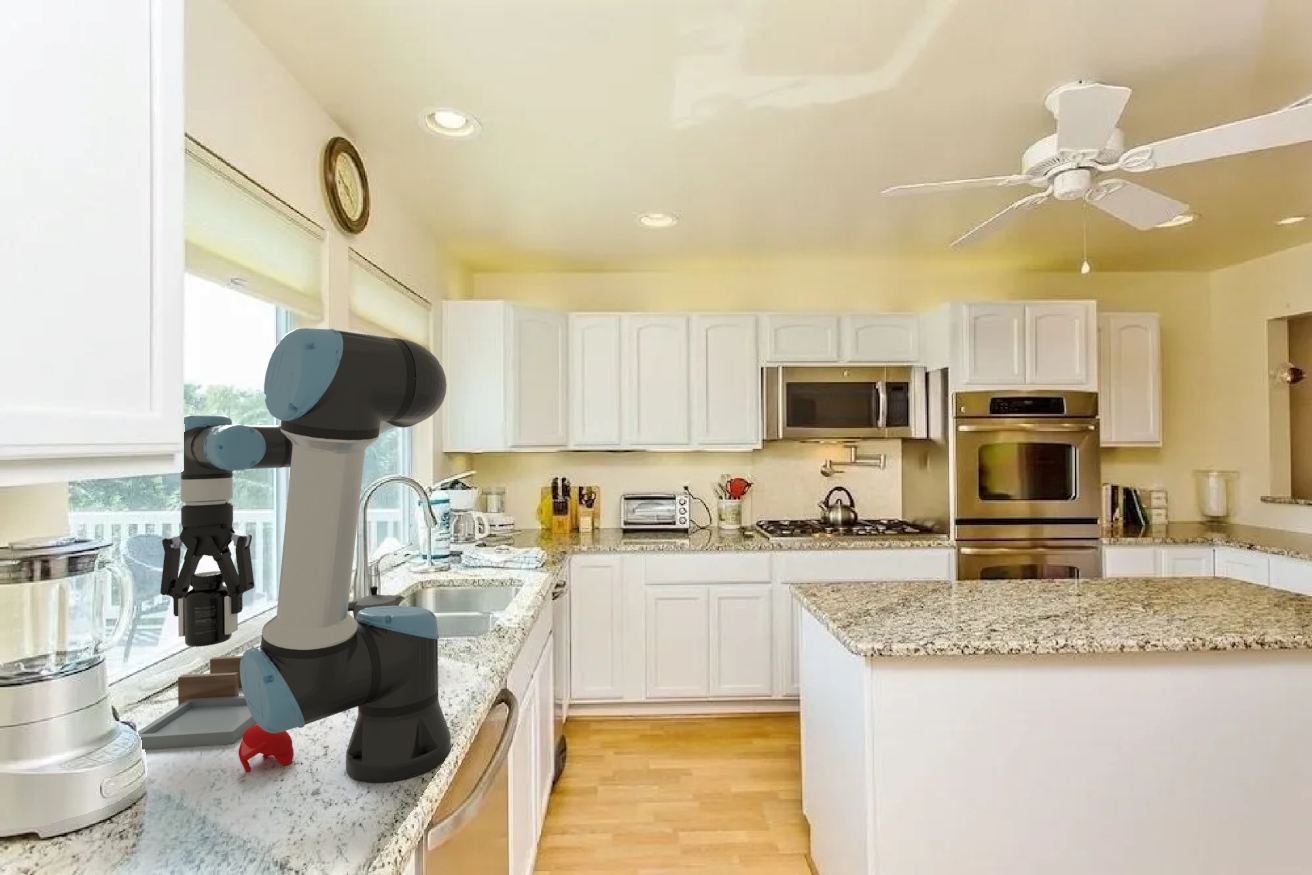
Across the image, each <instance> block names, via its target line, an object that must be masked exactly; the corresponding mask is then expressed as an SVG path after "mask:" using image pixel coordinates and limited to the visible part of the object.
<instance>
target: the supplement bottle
mask: <svg viewBox="0 0 1312 875" xmlns="http://www.w3.org/2000/svg"><path fill="white" fill-rule="evenodd" d="M224 584H225V582H224V579H223V577H222V574H221V572H220V570H219V571H218V570H217V571H216V570H214V571H206V572H198V573H195V574H194V575H192V576H191V585H190V587H191V588H192V589H189V590H188V593H187V594H186V595H185V597H184V617H185V636H184V644H185V645H186V646H187V647H192V648H199V647H208V646H214V645H219V644H221V643H224V642H227V641H229V640H230V639H231V638H232V634H233V633H231V634H225V603H224V597H226V596H227V595H229V592H228V589H227V587H226V585H224Z"/></svg>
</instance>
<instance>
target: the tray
mask: <svg viewBox="0 0 1312 875" xmlns="http://www.w3.org/2000/svg"><path fill="white" fill-rule="evenodd" d="M254 725H257V723H256V722H255V720H254V718H253V716H252V715H251V713H250V711H249V708H248V706H247V703H246V700H245V697H244V695H239V696H232V697H215V698H197V699H188V700H186V701H185V702H183V703H182V704H180V705H179V706H178V705H177V706H175V707H174V708H172V709H171V710H169V711H168V712H165V714H163V715H161V716H160V717H159V718H156V719H155V720H154V721H152V722H150V723H149V724H147V725H146V726H144V727H143V728H141V729H140V730H138V731H137V732H138V734H139V736H140V737H141V740H142V750H155V749H156V750H157V749H169V748H170V749H171V748H185V747H186V748H187V747H189V748H190V747H200V746H203V747H204V746H217V745H220V746H221V745H233V744H235V743H236V742H237V741H238V740H239V739H240V738H242V737H243V734H244V732H245V731H246V730H247V729H248V728H250V727H252V726H254Z"/></svg>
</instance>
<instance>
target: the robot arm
mask: <svg viewBox="0 0 1312 875" xmlns="http://www.w3.org/2000/svg"><path fill="white" fill-rule="evenodd" d="M263 393H264V395H266V396H265V398H264V402H265V406H266V409H267V411H268V412H269V414H270V415H271V416H272V417H273V418H274V419H275V418H276V419H278V420H279V421H280V425H270V424H269V425H267V424H265V425H263V424H262V425H260V424H257V425H256V424H252V425H251V424H244V423H243V424H242V423H233V422H232V421H233V420H232V419H231V418H230V417H229V416H227V415H219V414H218V415H217V414H214V415H213V414H195V415H194V414H193V415H192V414H190V415H185V416H183V417H184V424H185V432H184V471H183V472H181V471H180V501H181V502H182V503H184V504H183V505H182V506H181V507H180V524H181V527H182V530H181V531H180V534H179V535H177V536H176V535H175V536H170V537H165V538H163V539H162V541H161V544H162V546H163V551H164V554H163V564H162V574H161V582H160V583H161V584H160V594H161V595H162V596H169V597H171V598H172V599H173V600H172V601H173V615H174V617H178V620H177V621H178V637H185V617H184V597H185V595H186V594H187V593H188V592H189V591H190V587H191V576H192V575H194V574H196V571H197V568H198V566H199V563H200V561H201V560H202V558H203V556H209V557H212V559H213V561H214V562H216V565H217V566H218V569H219V571H220V572H221V574H222V577H223V579H224V584H225V586H226V587H227V589H228V592H229V595H227V596H226V597H224V603H225V634H231V633H232V634H233V633H235V632H236V631H238V630H239V629H238V628H239V626H238V625H239V624H238V623H239V622H238V620H239V619H238V614H239V613H242V611H243V607H244V606H243V595H244V593H245V592H248V591H250V590H253V589H254V588H255V580H254V571H253V564H252V554H251V543H252V539H253V536H252V535H251V534H250V533H248V534H247V533H246V534H241V533H236V532H235V530H234V527H233V521H234V504H232V502H230V500H232V499H234V498H233V497H234V496H233V495H234V492H233V485H234V482H233V480H234V479H233V478H234V477H233V475H234V474H233V471H245V470H254V469H255V470H258V469H278V468H279V469H281V468H290V469H289V480H288V492H287V503H286V511H285V523H284V525H285V526H284V532H283V533H284V534H283V542H282V543H283V545H282V554H281V555H282V556H281V564H280V565H281V566H280V577H279V586H278V598H277V599H278V601H277V609H276V615H275V616H274V617H272V618H271V619H269V620H268V621H267V622H266V623H265V624H264V625H263V627H262V631H261V640H260V645H259V646H251V648H248V649H247V650H245V651H243V653H242V655H241V656H242V658H241V661H240V678H241V685H242V687H241V690H242V693H243V696H244V697H245V700H246V703H247V706H248V708H249V711H250V713H251V715H252V716H253V718H254V720H255V722H256V723H257V724H258V725H259V727H261V728H262V729H263V730H264V731H266V732H269V733H280V732H283V731H286V732H287V731H290V730H292V729H297V728H298V729H301V728H304V727H305V726H306V725H308V724H312V723H314V722H318V721H320V720H324V719H326V718H328V717H331V716H334V715H337V714H340V713H344V712H345V711H349V710H352V709H354V708H358V709H357V718H356V720H355V724H354V727H353V728H352V733H351V736H350V738H349V743H348V746H347V749H346V752H345V771H346V773H347V774H348V776H349V777H351V778H353V779H355V780H358V781H362V782H369V783H370V782H371V783H386V782H387V783H388V782H394V781H400V780H406V779H409V778H413V777H415V776H418V775H422V774H424V773H427V772H428V771H430V770H432V769H434V768H436V767H437V766H439V765H440V764H441V763H443V762H444V761H445V760H446V759H447V758H448V757H449V755H450V753H451V750H452V748H451V745H452V744H451V733H450V732H451V731H450V729H449V727H448V724H447V722H446V721H447V720H446V717H445V716H444V713H443V710H442V707H441V704H440V702H439V642H438V641H439V639H440V635H439V631H438V630H439V629H438V622H437V621H438V620H437V617H436V615H435V614H434V612H432V611H431V610H429V609H427V608H424V607H418V606H411V605H410V606H409V605H408V606H407V605H399V606H378V607H370V608H365V609H363V610H360V611H359V612H358V613H357V617H356V620H355V619H354V616H353V615H351V614H350V613H349V611H348V603H349V602H350V593H351V592H350V591H351V584H352V574H353V567H354V566H353V563H354V558H355V557H354V554H355V546H356V539H357V536H356V535H357V528H358V519H359V509H360V501H361V491H362V482H363V481H362V480H363V474H364V473H363V472H364V465H365V464H364V463H365V455H366V449H367V448H368V447H369V446H371V445H372V444H373V443H374V442H376V441H377V440H379V438H380V435H381V434H382V433H385V432H387V431H389V430H391V429H393V428H401V429H403V428H410V427H412V426H415V425H417V424H419V423H422V422H423V421H425V420H427V419H429V418H430V417H432V416H433V415H434V414H435V413H436V412H437V411H439V409H440V407H441V406H442V404H443V403H444V401H445V397H446V393H447V377H446V375H445V371H444V368H443V366H442V365H441V363H440V361H439V360H438V359H437V357H436V356H435V354H433V353H432V352H431V351H430V350H428V349H427V348H426V347H425V346H423V345H421V344H419V343H417V342H414V341H412V340H409V339H404V338H399V337H398V338H397V337H387V336H380V335H372V334H366V333H364V334H363V333H359V332H358V333H357V332H351V331H346V330H345V331H343V330H339V329H338V330H336V329H334V328H317V327H315V328H314V327H299V328H295V329H293V330H291V331H288V332H287V333H286V334H285V335H284V336H283V337H281V339H280V341H279V342H278V343H277V344H276V345H275V347H274V349H273V351H272V352H271V356H270V358H269V360H268V364H267V366H266V370H265V376H264V383H263ZM231 542H233V546H234V547H235V550H234V551H235V560H236V566H235V563H234V562H233V559H232V552H231V549H230V547H229V545H230V544H231ZM183 545H184V546H185V548H186V551H185V554H184V557H183V563H182V566H181V568H180V560H181V552H182V551H181V548H182V546H183ZM179 568H180V569H179ZM179 570H180V572H179ZM257 724H256V725H257Z"/></svg>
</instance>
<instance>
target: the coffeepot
mask: <svg viewBox="0 0 1312 875" xmlns="http://www.w3.org/2000/svg"><path fill="white" fill-rule="evenodd" d="M369 589H370V595H367V596H364V597H360V598H356V599H353V600H352V601H351V600H349V603H348V612H352V613H353V614H352V615H353V618H354V619H355V620H356V617H357V613H358V612H359V611H360V610H363V609H365V608H370V607H378V606H400V604H401V602H402V601H403V600H404V599H405V597H404V596H403V595H397V594H396V595H395V594H388V595H387V594H386V595H385V594H378V590H379V587H378V586H375V585H374V586H371V587H370V588H369Z"/></svg>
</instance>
